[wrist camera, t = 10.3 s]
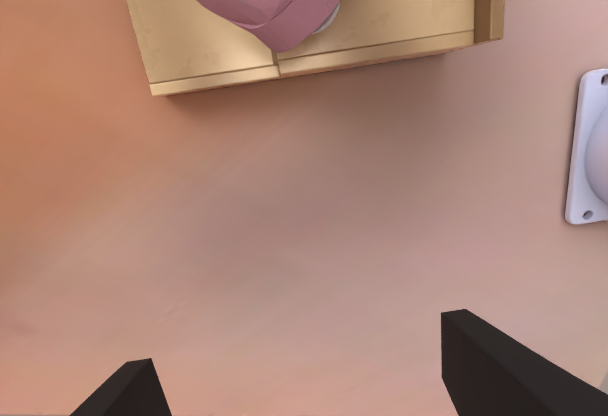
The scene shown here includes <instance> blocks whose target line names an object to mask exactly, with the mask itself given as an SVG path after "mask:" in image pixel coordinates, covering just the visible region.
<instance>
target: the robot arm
mask: <svg viewBox="0 0 608 416" xmlns="http://www.w3.org/2000/svg"><path fill="white" fill-rule="evenodd" d="M603 76H604V82H603V83H602V84H601V79H602V77H603ZM586 211H587V212H586ZM585 212H586V215H585V216H583V215H584V213H585ZM565 219H566V221H567V222H569V223H571V224H573V225H579V224H585V223H591V222H598V221H604V220H608V68H605V69H599V70H592V71H589V72H587V73H585V74H584V75H583V77H582V78H581V81H580V86H579V95H578V104H577V113H576V122H575V131H574V139H573V148H572V157H571V166H570V175H569V184H568V193H567V202H566V210H565ZM441 349H442V379H443V381H444V384H445V386H446V388H447V391H448V393H449V395H450V397H451V400H452V402H453V404H454V406H455V409H456V411H457V413H458V415H459V416H608V395H607V394H606V393H604V392H602V391H600V390H598V389H597V388H595V387H593V386H591V385H589V384H588V383H586V382H584V381H582V380H581V379H579V378H577V377H575V376H574V375H572V374H570V373H569V372H567V371H565V370H563V369H562V368H560V367H558V366H557V365H555V364H553V363H552V362H550V361H548V360H547V359H545V358H543V357H542V356H540V355H539V354H537V353H535V352H534V351H532V350H530V349H529V348H527V347H526V346H524V345H522V344H521V343H519V342H518V341H516V340H514V339H513V338H511V337H510V336H508V335H507V334H505V333H503V332H502V331H500V330H499V329H497V328H495V327H494V326H492V325H491V324H489V323H488V322H486V321H484V320H483V319H481V318H480V317H478V316H476V315H475V314H473V313H471V312H470V311H468V310H466V309H462V310H456V311H449V312H443V313H441ZM70 416H172V415H171V412H170V409H169V406H168V404H167V401H166V398H165V395H164V392H163V390H162V387H161V384H160V381H159V379H158V376H157V373H156V370H155V368H154V365H153V362H152V359H151V358H149V359H143V360H137V361H130V362H126V363H125V364H124V365H123V366H121V367H120V368H119V369H118V370H117V371H116V372H115V373H114V374H113V375H111V376H110V377H109V378H108V379H107V380H106V381H105V382H104V383H103V384H102V385H101V386H100V387H99V388H98V389H97V390H96V391H95V392H94V393H93V394H92V395H90V396H89V397H88V398H87V399H86V400H85V401H84V402H83V403H82V404H81V405H80V406H79V407H78V408H77V409H76V410H75V411H74V412H73V413H72V414H71V415H70Z"/></svg>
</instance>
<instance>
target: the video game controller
mask: <svg viewBox="0 0 608 416" xmlns="http://www.w3.org/2000/svg"><path fill="white" fill-rule="evenodd" d="M197 1H198V2H199V3H200V4H201V5H202V6H203V7H205V8H206V9H208V10H209V11H211V12H213V13H215V14H216V15H218V16H220V17H222V18H224V19H226V20H228V21H229V22H231V23H233V24H235V25H237V26H239V27H241V28H242V29H244V30H246V31H248V32H250V33H252V34H253V35H255V36H256V37H257V38H258V39H259V40H260V41H262V42H263V43H264V44H265V45H266V46H267V47H268V48H270V49H271V50H272V51H274V52H276V53H281V52H285V51H287V50H290V49H292V48H293V47H295V46H296V45H297V44H299V43H300V42H302V41H303V40H304V39H305V38H307V37H308V36H309V35H310V34H315V33H318V32H320V31H322V30H324V29H325V28H326V27H328V26H329V25H330V24H331V23H332V21H333V20H334V18H335V17H336V14H337V12H338V10H339V7H340V0H197Z"/></svg>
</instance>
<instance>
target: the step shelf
mask: <svg viewBox="0 0 608 416" xmlns="http://www.w3.org/2000/svg"><path fill="white" fill-rule="evenodd" d="M126 2H127V6H128V10H129V13H130V17H131V20H132V24H133V28H134V31H135V35H136V38H137V42H138V46H139V49H140V53H141V56H142V60H143V64H144V67H145V71H146V74H147V78H148V82H149V84H150V90H151V93H152V96H154V97H157V96H170V95H176V94H183V93H189V92H196V91H202V90H209V89H215V88H222V87H228V86H235V85H241V84H248V83H254V82H260V81H267V80H273V79H280V78H286V77H293V76H299V75H306V74H312V73H319V72H325V71H332V70H338V69H345V68H351V67H358V66H364V65H371V64H377V63H384V62H390V61H397V60H403V59H410V58H416V57H423V56H429V55H435V54H442V53H447V52H451V51H455V50H459V49H463V48H467V47H471V46H475V45H479V44H483V43H487V42H491V41H495V40H499V39H502V38H503V27H504V3H505V0H340V7H339V10H338V12H337V14H336V17H335V18H334V20H333V21H332V23H331V24H330V25H329V26H328V27H326V28H325V29H324V30H322V31H320V32H318V33H315V34H310V35H309V36H308V37H307V38H305V39H304V40H303V41H302V42H300V43H299V44H297V45H296V46H295V47H293V48H292V49H290V50H287V51H285V52H281V53H276V52H274V51H272V50H271V49H270V48H268V47H267V46H266V45H265V44H264V43H263V42H262V41H260V40H259V39H258V38H257V37H256V36H255V35H253V34H252V33H250V32H248V31H246V30H244V29H242V28H241V27H239V26H237V25H235V24H233V23H231V22H229V21H228V20H226V19H224V18H222V17H220V16H218V15H216V14H215V13H213V12H211V11H209V10H208V9H206V8H205V7H203V6H202V5H201V4H200V3H199V2H198V1H197V0H126Z"/></svg>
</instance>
